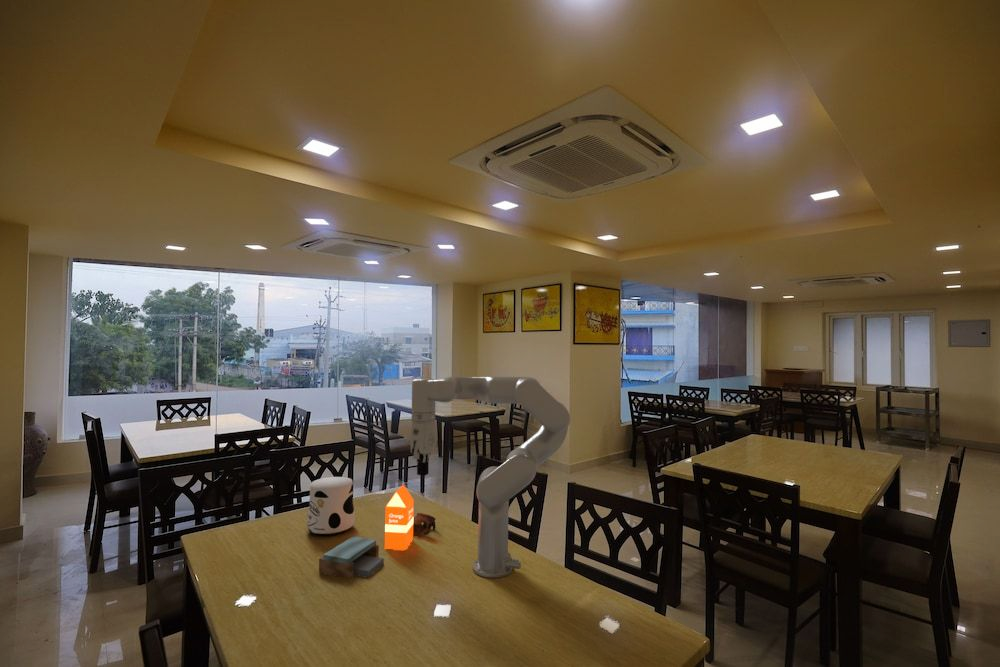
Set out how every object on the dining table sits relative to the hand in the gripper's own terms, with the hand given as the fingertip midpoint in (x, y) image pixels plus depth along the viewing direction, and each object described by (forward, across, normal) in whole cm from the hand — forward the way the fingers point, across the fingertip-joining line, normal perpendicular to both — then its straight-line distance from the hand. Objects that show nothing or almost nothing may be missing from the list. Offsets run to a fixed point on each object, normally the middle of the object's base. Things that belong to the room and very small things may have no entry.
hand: (422, 474), depth 152 cm
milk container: (+29, +15, +46) cm, 57 cm away
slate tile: (+30, -8, +19) cm, 36 cm away
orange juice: (+29, +12, +15) cm, 35 cm away
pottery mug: (+29, +24, +12) cm, 40 cm away
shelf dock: (+29, -7, +21) cm, 36 cm away
